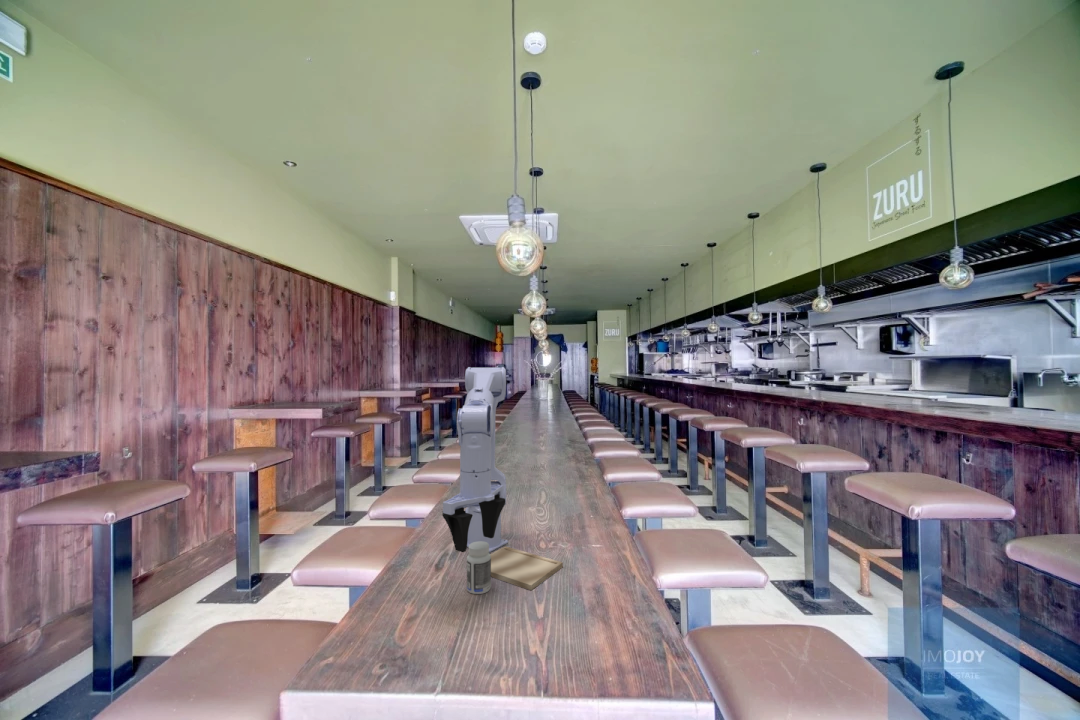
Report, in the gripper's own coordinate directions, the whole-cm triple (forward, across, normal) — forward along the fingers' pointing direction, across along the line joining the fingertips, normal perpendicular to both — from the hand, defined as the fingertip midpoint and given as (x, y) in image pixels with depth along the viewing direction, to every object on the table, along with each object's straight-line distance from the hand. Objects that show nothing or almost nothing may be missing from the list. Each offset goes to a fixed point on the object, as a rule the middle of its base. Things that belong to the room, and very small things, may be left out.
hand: (475, 543), depth 76 cm
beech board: (+10, +15, +1) cm, 18 cm away
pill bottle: (+11, +4, +3) cm, 12 cm away
